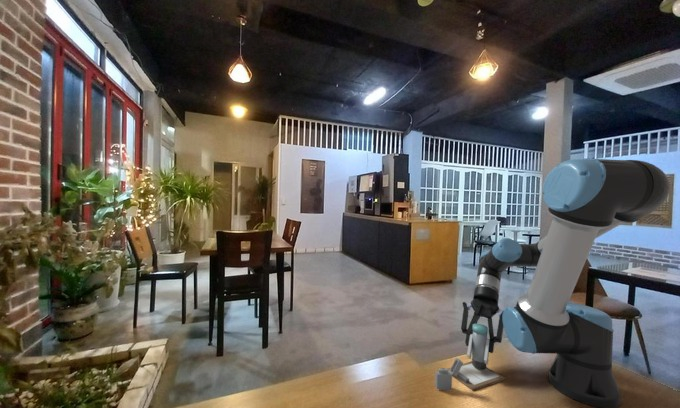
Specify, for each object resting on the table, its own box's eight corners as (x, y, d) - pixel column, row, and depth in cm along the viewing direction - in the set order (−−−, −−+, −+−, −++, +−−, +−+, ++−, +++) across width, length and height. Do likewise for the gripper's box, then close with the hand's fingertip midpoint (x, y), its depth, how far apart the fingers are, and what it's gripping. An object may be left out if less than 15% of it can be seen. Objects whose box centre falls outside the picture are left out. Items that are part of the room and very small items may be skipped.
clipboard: (504, 379, 82) (504, 374, 82) (472, 391, 77) (473, 385, 77) (475, 362, 91) (475, 357, 91) (445, 371, 86) (445, 365, 86)
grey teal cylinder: (489, 367, 86) (490, 328, 86) (480, 370, 84) (481, 330, 84) (478, 360, 90) (478, 322, 90) (468, 363, 88) (469, 324, 88)
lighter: (436, 390, 77) (437, 360, 77) (434, 386, 78) (435, 357, 78) (462, 390, 77) (463, 361, 77) (459, 386, 79) (460, 357, 79)
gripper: (515, 302, 95) (510, 374, 81) (462, 292, 104) (449, 355, 91) (515, 290, 90) (509, 364, 77) (459, 280, 100) (445, 345, 87)
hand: (477, 359), depth 84 cm, fingers closed on grey teal cylinder, 4 cm apart
